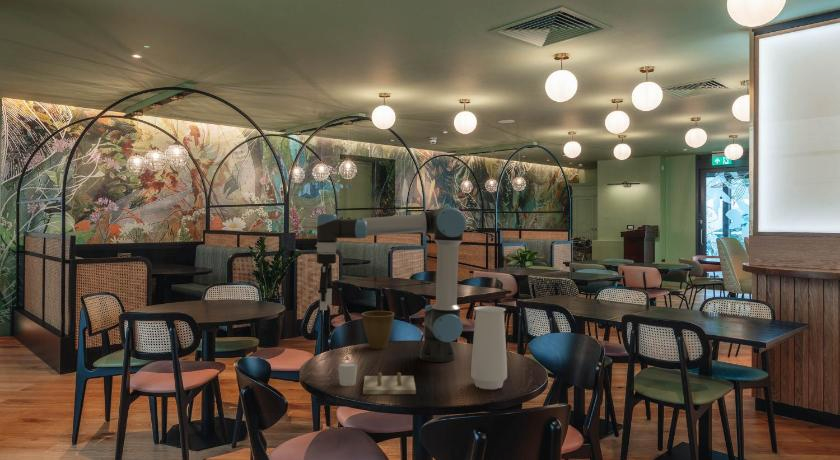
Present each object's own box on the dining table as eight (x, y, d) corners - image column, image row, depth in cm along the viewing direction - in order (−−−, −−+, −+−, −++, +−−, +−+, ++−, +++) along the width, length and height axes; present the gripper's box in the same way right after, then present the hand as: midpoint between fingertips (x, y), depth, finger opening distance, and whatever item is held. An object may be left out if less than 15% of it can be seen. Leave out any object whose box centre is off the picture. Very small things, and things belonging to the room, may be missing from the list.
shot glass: (360, 382, 217) (360, 363, 217) (352, 387, 211) (352, 367, 211) (343, 380, 220) (343, 361, 219) (334, 385, 213) (335, 365, 213)
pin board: (413, 379, 222) (413, 369, 222) (415, 394, 204) (415, 382, 204) (364, 379, 221) (364, 369, 221) (362, 394, 203) (363, 382, 203)
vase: (497, 392, 206) (498, 312, 206) (464, 386, 213) (465, 309, 213) (512, 384, 217) (513, 307, 217) (480, 378, 224) (481, 304, 224)
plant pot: (365, 343, 284) (366, 310, 284) (396, 344, 282) (396, 311, 282) (358, 350, 269) (358, 315, 269) (390, 351, 267) (390, 316, 267)
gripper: (321, 251, 245) (320, 302, 246) (311, 255, 220) (311, 312, 221) (339, 251, 246) (338, 302, 246) (332, 255, 221) (331, 312, 221)
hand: (325, 307), depth 233 cm, fingers open, 13 cm apart
